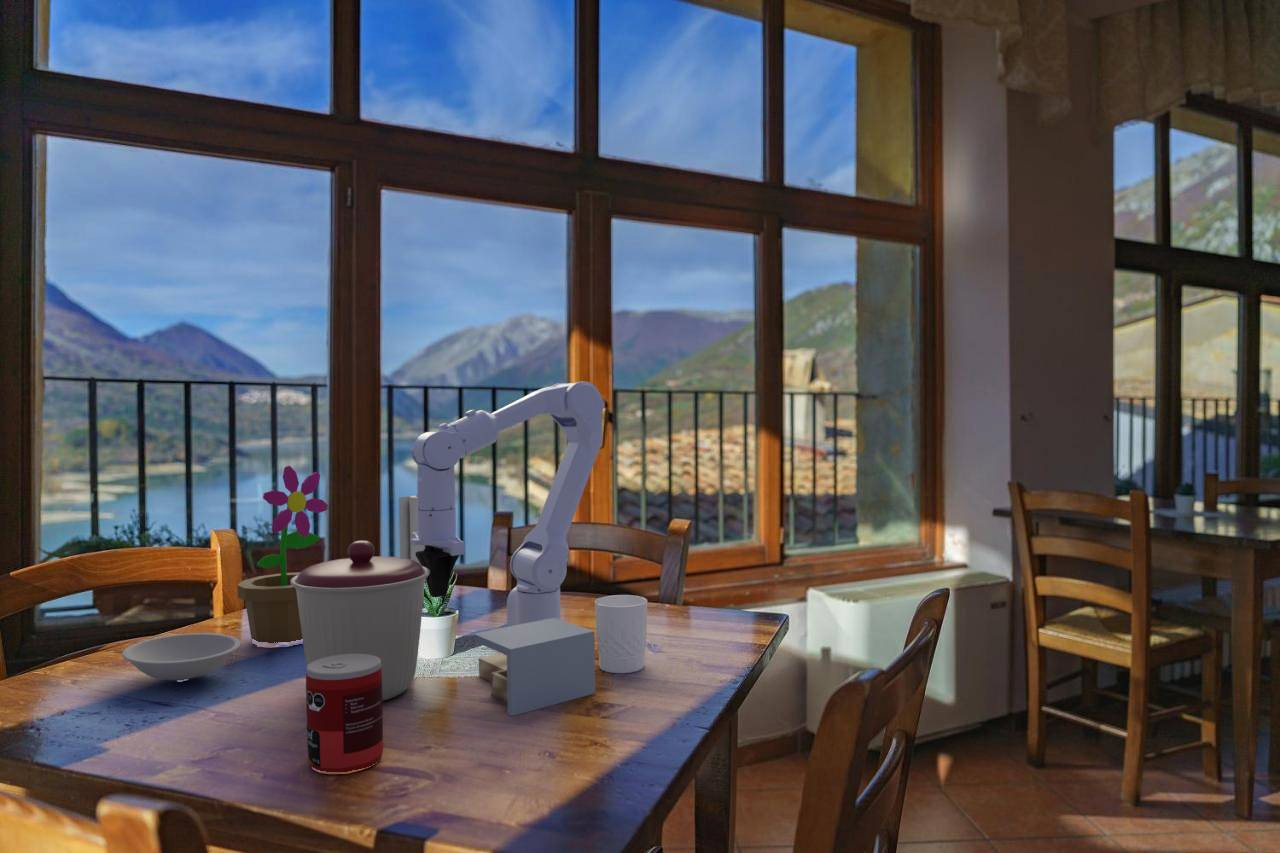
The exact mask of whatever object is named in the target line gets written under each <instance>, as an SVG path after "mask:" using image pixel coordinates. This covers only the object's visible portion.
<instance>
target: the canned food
mask: <svg viewBox="0 0 1280 853" xmlns="http://www.w3.org/2000/svg"><path fill="white" fill-rule="evenodd" d="M305 700H306V702H305V704H306V705H305V706H306V736H307V744H306V745H307V760H308V763H309V767H310V766H311V767H313V768H315V769H317V770H320V771H326V772H348V771H352V770H358V769H362V768H366V767H369V766H372V765H373V764H375V763H376V762H378V761H379V760H380V761H381V759H382V756H383V752H384V732H383V731H384V729H383V728H384V724H383V723H384V721H383V720H384V719H383V715H384V714H383V712H384V711H383V701H382V666H381V659H380V658H378V657H376V656H373V655H368V654H342V655H334V656H329V657H325V658H321V659H318V660H316V661H314V662H312V663H310V664H308V666H307V665H306V670H305ZM380 758H381V759H380ZM380 761H379V762H380ZM379 762H378V763H379ZM375 765H376V764H375ZM311 767H310V768H311Z"/></svg>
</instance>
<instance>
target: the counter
mask: <svg viewBox="0 0 1280 853" xmlns="http://www.w3.org/2000/svg"><path fill="white" fill-rule="evenodd" d="M472 641H473V642H475V643H477V644H480V645H482V646H484V647H486V648H489V649H491V650H493V651H496V652H498V653H501V654H503V655H506V656H507V696H508V703H507V715H508V716H510V717H514V716H518V715H520V714H525V713H527V712H528V713H529V712H532V711H537V710H540V709H543V708H547V707H550V706H554V705H557V704H562V703H566V702H569V701H572V700H575V699H580V698H584V697H587V696H591V695H594V694H596V659H595V658H596V655H595V653H596V652H595V651H596V650H595V648H596V645H595V644H596V642H595V630H592V629H589V628H586V627H583V626H580V625H576V624H574V623H572V622H568V621H565V620H563V619H561V620H559V619H556V618H550V619H545V620H540V621H535V622H529V623H524V624H519V625H514V626H509V627H507V626H504V627H499V628H494V629H489V630H485V631H479V632H474V633H472Z"/></svg>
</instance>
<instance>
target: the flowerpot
mask: <svg viewBox="0 0 1280 853" xmlns="http://www.w3.org/2000/svg"><path fill="white" fill-rule="evenodd" d="M297 474H298V473H297V472H296V471H295V470H294V468H293V467H292V466H291V465H287V466H284V469H283V473H282V479H283V484H284V487H285V489H287V491H288V492H290V494H289V495H287V494H286V492H284V491H280V490H274V489H272V490H269V491H266V492H264V493H263V496H262V499H263V500H264V502H265V501H266V503H268V504H269V505H274V506H279V507H281V506H284V505H286V509H282V510H280V512H278V513H277V515H275V518H274V519H273V522H272V525H271V526H272V527H271V531H272V532H273V533H274V534H277V533H281V534H280V543H279V544H280V545H279V548H280V549H279V550H280V553H279V554H269V555H267V556H263V557H262V558H261V559H260V560H259V561H257V564H256V565H257V567H260V568H264V569H271V568H272V569H273V568H275V567H278V566H280V573H274V574H273V573H272V574H266V575H260V576H259V575H258V576H255V577H251V578H248V579H244V580H242V581H240V582H239V583H237V590H236V591H237V598H239V599H240V600H243V601H245V608H246V614H247V615H246V616H247V619H248V620H247V621H248V625H249V631H250V632H249V633H250V637H251V638H252V639H254V640H256V641H258V642H268V643H274V642H275V643H276V642H277V643H278V642H291V641H296V640H301V639H303V638H302V630H301V623H300V616H299V609H298V600H297V592H296V588H294V587H293V586H292V585H291V583H290V580H291V579H292V578H293V577H294V576H296V575H299V574H300V573H301V572H302V571H299V572H287V569H288V568H287V548H291V549H296V550H299V549H303V548H307V547H309V546H312V545H313V544H315V543H317V542H319V541H321V536H318V535H316V534H314V533H313V532H310V529H311V524H310V520H309V516H308V515H307V514H306V513H305V512H304V511H303V510H304V508H305V509H307V511H308V512H312V513H317V514H318V513H319V514H320V513H323V512H325V511H327V510H328V508H329V505H328V503H326V501H325V500H323V499H321V498H315V497H310V498H308V499H307V498H306V496H307V495H310V494H312V493H314V491H315V490H316V488H317V487H318V486H319V484H320V479H321V474H320V473H319V472H318V471H315V472H313V473H311V474H309V475H308V476H307V477H305V479H304V480H303V481H302V483H301V487H300V491H298V489H299V485H300V482H299V477H298V475H297ZM293 513H295V517H294V525H295V529H296V530H294V531H292V532H290V533H288V531H289V524H290V523H291V521H292V518H293ZM252 639H251V640H252Z"/></svg>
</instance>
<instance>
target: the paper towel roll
mask: <svg viewBox="0 0 1280 853" xmlns="http://www.w3.org/2000/svg"><path fill="white" fill-rule="evenodd" d="M398 518H399V519H398V520H399V521H398V522H399V524H398V525H399V526H398V528H399V529H398V530H399V558H406V559H410V560H413V561H416V562H418V563H419V564H420V562H419V560H418V559H417V557H416V552H418V551H424V549H425V546H422V545H412V543H411V539H412V533H415V532H418V494H416V495H407V496H399V497H398ZM420 565H421V564H420ZM425 581H426V579H425ZM426 582H427V581H426Z"/></svg>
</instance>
